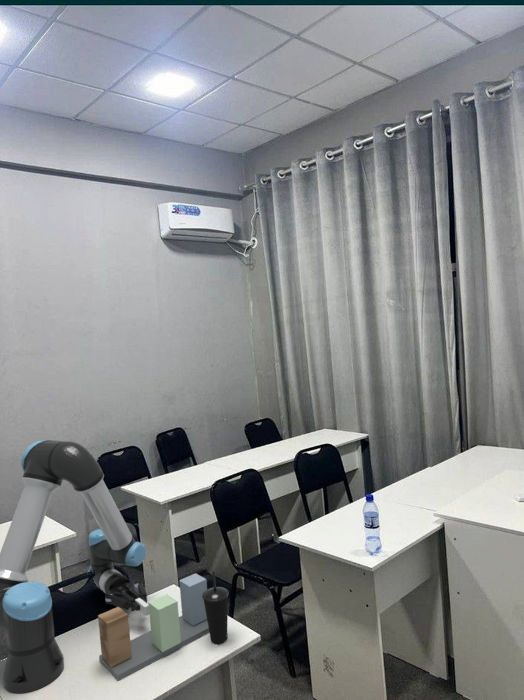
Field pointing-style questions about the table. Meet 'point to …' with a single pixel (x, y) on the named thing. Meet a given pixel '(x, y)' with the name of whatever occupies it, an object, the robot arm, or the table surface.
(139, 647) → the grey flat board
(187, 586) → the blue-grey tall block
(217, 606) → the drinking cup
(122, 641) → the brown wooden block
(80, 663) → the table surface
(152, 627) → the pale green block
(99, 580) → the robot arm
